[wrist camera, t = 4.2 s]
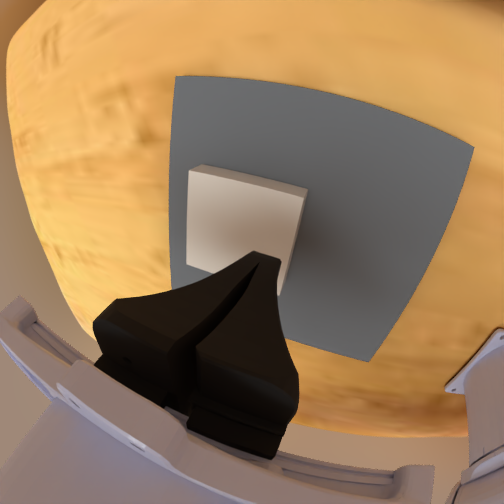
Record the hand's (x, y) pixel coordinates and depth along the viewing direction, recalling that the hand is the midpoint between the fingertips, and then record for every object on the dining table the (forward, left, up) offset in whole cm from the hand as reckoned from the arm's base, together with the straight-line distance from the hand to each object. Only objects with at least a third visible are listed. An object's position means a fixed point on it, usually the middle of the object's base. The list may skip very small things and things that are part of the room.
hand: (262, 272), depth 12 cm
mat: (-1, 0, -5) cm, 5 cm away
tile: (-1, 0, -3) cm, 3 cm away
